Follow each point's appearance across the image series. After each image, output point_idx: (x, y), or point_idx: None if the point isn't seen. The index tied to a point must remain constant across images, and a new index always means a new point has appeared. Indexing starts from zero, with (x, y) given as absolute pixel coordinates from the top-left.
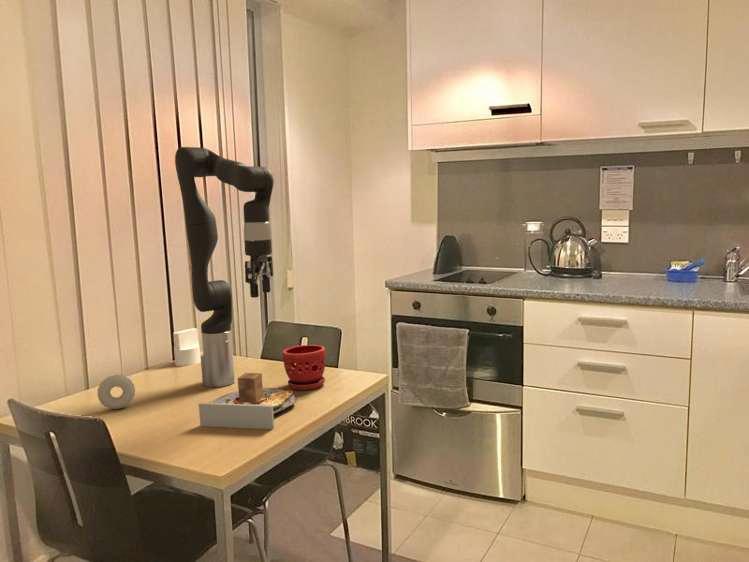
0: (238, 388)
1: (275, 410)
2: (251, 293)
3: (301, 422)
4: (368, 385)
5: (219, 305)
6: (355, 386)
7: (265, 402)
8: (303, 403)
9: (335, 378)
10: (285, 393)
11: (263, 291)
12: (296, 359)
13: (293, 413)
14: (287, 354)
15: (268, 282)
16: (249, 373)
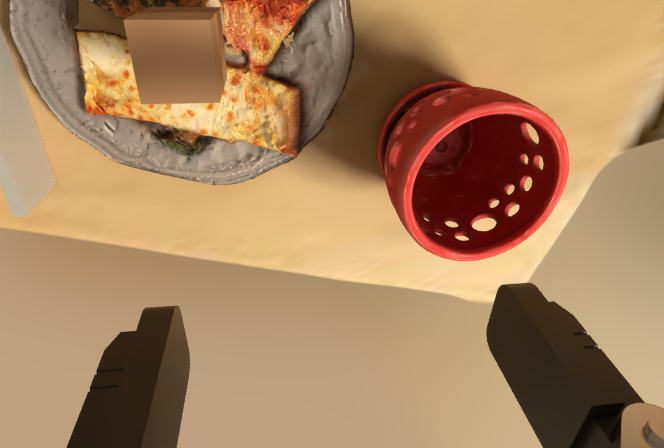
0: (136, 13)
1: (163, 144)
2: (103, 365)
3: (124, 232)
4: (430, 290)
5: None
6: (423, 265)
7: (226, 80)
8: (268, 186)
9: None
10: (271, 142)
11: (505, 291)
12: (395, 183)
13: (182, 189)
14: (418, 149)
15: (540, 433)
16: (205, 46)
